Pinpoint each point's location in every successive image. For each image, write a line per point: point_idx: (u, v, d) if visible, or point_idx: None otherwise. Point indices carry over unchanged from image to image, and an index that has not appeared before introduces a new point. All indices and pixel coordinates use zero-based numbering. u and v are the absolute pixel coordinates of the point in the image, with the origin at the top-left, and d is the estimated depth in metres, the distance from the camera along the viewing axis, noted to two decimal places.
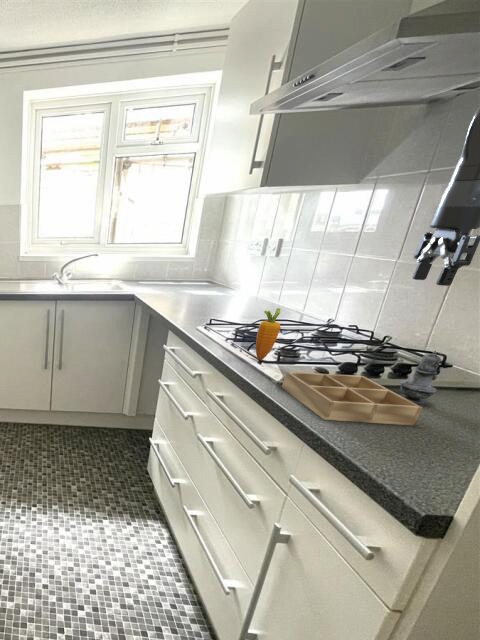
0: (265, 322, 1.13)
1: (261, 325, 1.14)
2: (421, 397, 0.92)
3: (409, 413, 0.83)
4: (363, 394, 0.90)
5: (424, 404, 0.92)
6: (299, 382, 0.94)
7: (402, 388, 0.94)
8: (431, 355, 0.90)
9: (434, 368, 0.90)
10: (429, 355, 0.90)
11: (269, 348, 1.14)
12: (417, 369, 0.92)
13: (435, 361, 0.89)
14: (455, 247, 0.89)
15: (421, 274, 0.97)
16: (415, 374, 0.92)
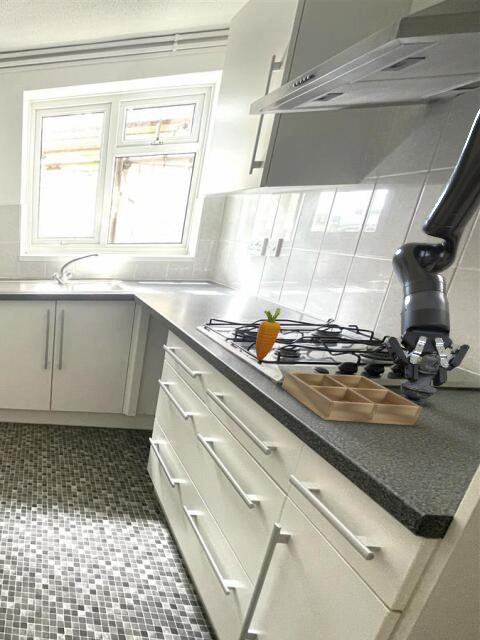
0: (265, 322, 1.13)
1: (261, 325, 1.14)
2: (421, 397, 0.92)
3: (409, 413, 0.83)
4: (363, 394, 0.90)
5: (424, 404, 0.92)
6: (299, 382, 0.94)
7: (402, 388, 0.94)
8: (431, 355, 0.90)
9: (434, 368, 0.90)
10: (429, 355, 0.90)
11: (269, 348, 1.14)
12: None
13: (435, 361, 0.89)
14: (408, 345, 0.94)
15: (436, 379, 0.90)
16: None
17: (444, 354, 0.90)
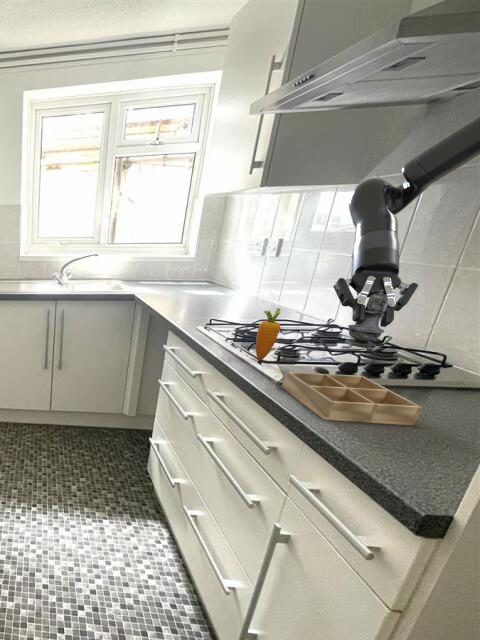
0: (265, 322, 1.13)
1: (261, 325, 1.14)
2: (368, 339, 0.88)
3: (409, 413, 0.83)
4: (363, 394, 0.90)
5: (372, 346, 0.89)
6: (299, 382, 0.94)
7: (350, 331, 0.91)
8: (378, 294, 0.86)
9: (381, 307, 0.86)
10: (376, 294, 0.87)
11: (269, 348, 1.14)
12: None
13: (381, 300, 0.86)
14: (356, 287, 0.91)
15: (383, 319, 0.87)
16: None
17: (392, 293, 0.87)
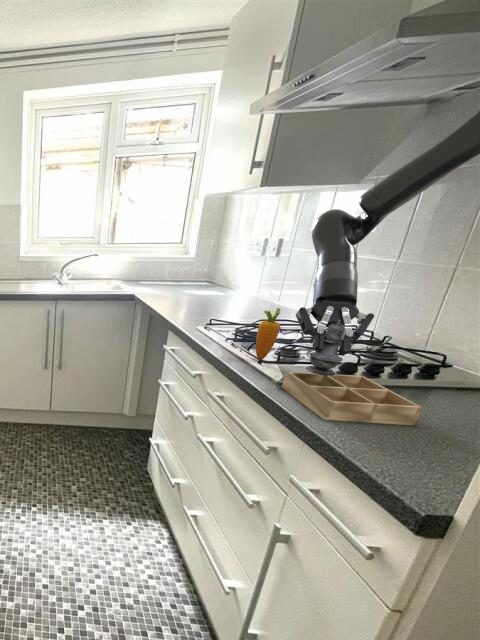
0: (265, 322, 1.13)
1: (261, 325, 1.14)
2: (327, 367, 0.91)
3: (409, 413, 0.83)
4: (363, 394, 0.90)
5: (331, 374, 0.92)
6: (299, 382, 0.94)
7: (311, 358, 0.94)
8: (336, 324, 0.89)
9: (338, 337, 0.89)
10: (334, 324, 0.90)
11: (269, 348, 1.14)
12: None
13: (339, 330, 0.89)
14: (317, 316, 0.94)
15: (341, 349, 0.90)
16: None
17: (349, 323, 0.90)
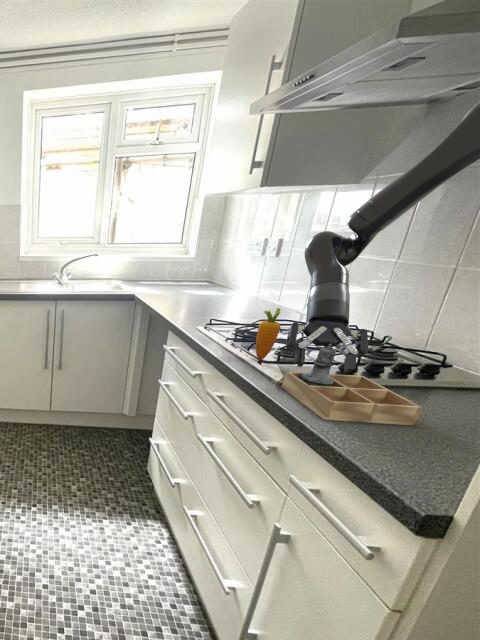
0: (265, 322, 1.13)
1: (261, 325, 1.14)
2: None
3: (409, 413, 0.83)
4: (363, 394, 0.90)
5: None
6: (299, 382, 0.94)
7: (303, 380, 0.96)
8: (327, 347, 0.92)
9: (329, 360, 0.92)
10: (325, 347, 0.92)
11: (269, 348, 1.14)
12: (315, 361, 0.94)
13: (330, 353, 0.91)
14: (310, 336, 0.96)
15: (346, 366, 0.91)
16: (314, 366, 0.94)
17: (349, 342, 0.91)
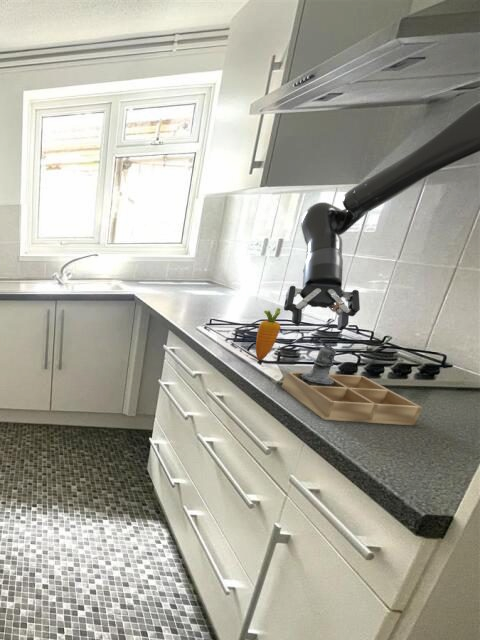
0: (265, 322, 1.13)
1: (261, 325, 1.14)
2: None
3: (409, 413, 0.83)
4: (363, 394, 0.90)
5: None
6: (299, 382, 0.94)
7: (303, 380, 0.96)
8: (327, 347, 0.92)
9: (329, 360, 0.92)
10: (325, 347, 0.92)
11: (269, 348, 1.14)
12: (315, 361, 0.94)
13: (330, 353, 0.91)
14: None
15: (339, 324, 0.99)
16: (314, 366, 0.94)
17: (342, 301, 0.99)
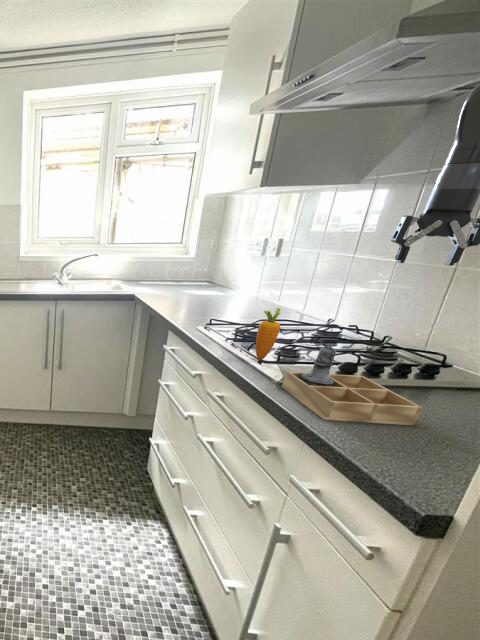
0: (265, 322, 1.13)
1: (261, 325, 1.14)
2: None
3: (409, 413, 0.83)
4: (363, 394, 0.90)
5: None
6: (299, 382, 0.94)
7: (303, 380, 0.96)
8: (327, 347, 0.92)
9: (329, 360, 0.92)
10: (325, 347, 0.92)
11: (269, 348, 1.14)
12: (315, 361, 0.94)
13: (330, 353, 0.91)
14: (422, 228, 0.95)
15: (448, 259, 0.95)
16: (314, 366, 0.94)
17: (461, 236, 0.92)
